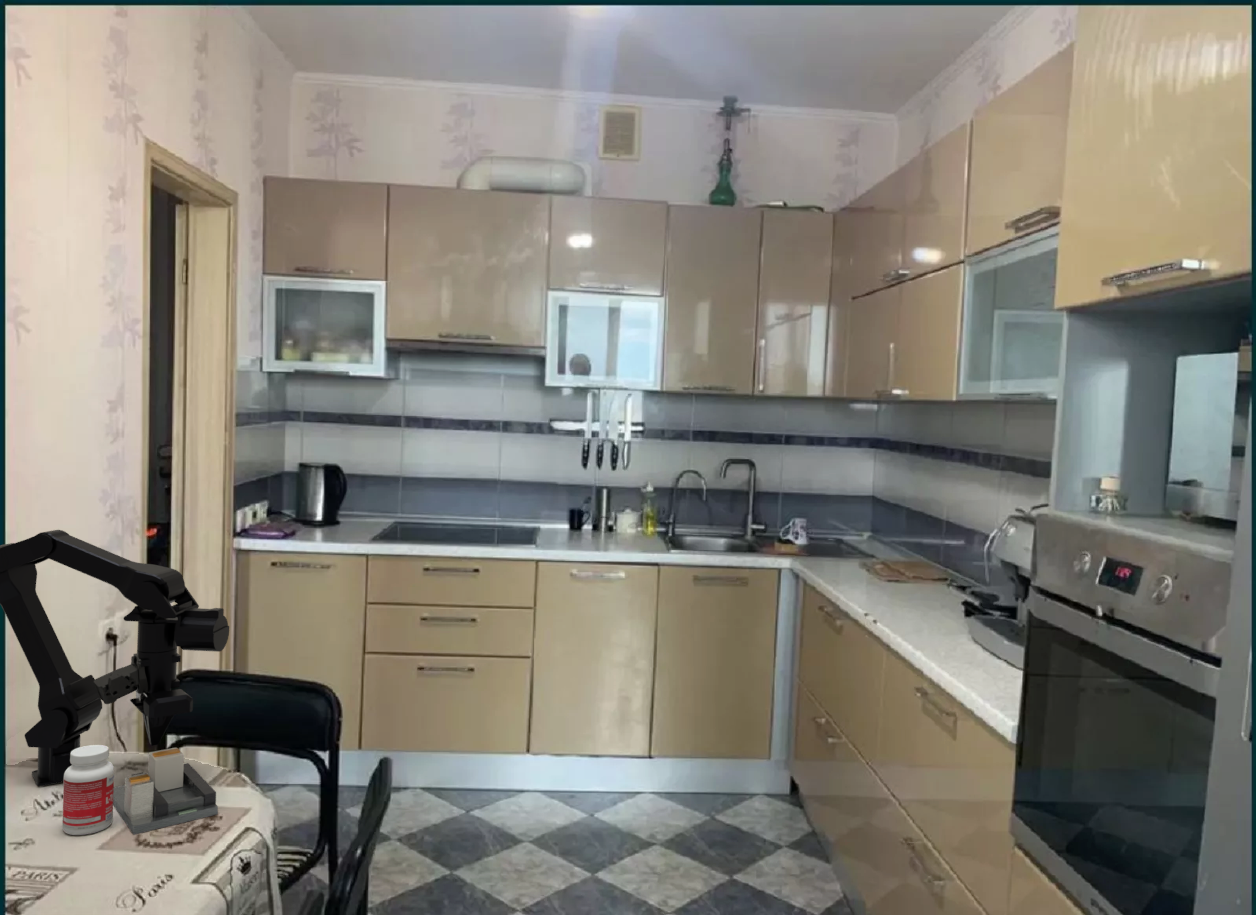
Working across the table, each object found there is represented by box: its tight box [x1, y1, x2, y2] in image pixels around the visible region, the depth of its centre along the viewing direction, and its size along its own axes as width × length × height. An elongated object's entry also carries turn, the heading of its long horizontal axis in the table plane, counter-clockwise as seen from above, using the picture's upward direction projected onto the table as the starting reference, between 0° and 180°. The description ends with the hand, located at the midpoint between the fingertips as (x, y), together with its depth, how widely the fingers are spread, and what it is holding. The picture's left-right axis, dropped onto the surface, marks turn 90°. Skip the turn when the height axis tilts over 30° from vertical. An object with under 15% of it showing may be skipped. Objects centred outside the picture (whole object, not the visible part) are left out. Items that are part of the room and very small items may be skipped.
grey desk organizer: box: [113, 762, 219, 835], centre depth 134 cm, size 16×11×6 cm
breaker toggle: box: [147, 747, 185, 792], centre depth 137 cm, size 4×4×5 cm
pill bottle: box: [61, 744, 115, 836], centre depth 126 cm, size 6×6×11 cm
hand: (154, 744), depth 142 cm, fingers closed
